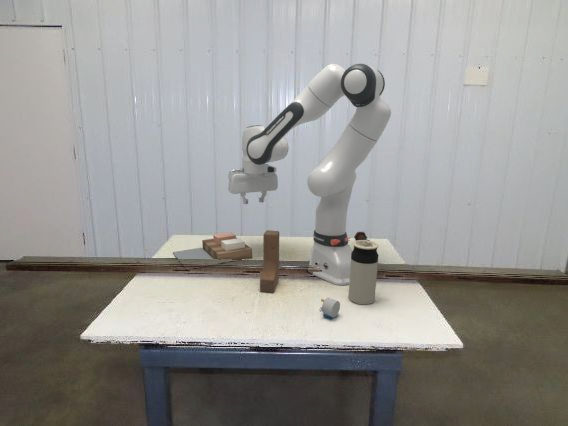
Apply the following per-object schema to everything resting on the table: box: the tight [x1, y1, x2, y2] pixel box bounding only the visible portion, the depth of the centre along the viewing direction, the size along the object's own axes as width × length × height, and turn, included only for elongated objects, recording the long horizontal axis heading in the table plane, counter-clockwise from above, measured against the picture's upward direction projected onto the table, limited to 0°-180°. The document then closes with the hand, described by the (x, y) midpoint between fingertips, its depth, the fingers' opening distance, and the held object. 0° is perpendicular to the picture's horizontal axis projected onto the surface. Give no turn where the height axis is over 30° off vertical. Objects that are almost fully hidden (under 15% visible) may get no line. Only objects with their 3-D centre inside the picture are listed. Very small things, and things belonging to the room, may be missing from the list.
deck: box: [201, 237, 253, 261], centre depth 150 cm, size 19×14×4 cm
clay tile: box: [212, 232, 237, 244], centre depth 153 cm, size 5×8×2 cm, turn 120°
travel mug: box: [348, 239, 379, 305], centre depth 112 cm, size 8×8×18 cm
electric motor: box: [319, 297, 341, 320], centre depth 103 cm, size 7×5×5 cm
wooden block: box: [259, 229, 280, 293], centre depth 119 cm, size 9×4×18 cm, turn 170°
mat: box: [172, 247, 213, 260], centre depth 144 cm, size 20×12×1 cm, turn 30°
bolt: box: [353, 231, 371, 241], centre depth 161 cm, size 6×5×15 cm
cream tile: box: [221, 237, 246, 251], centre depth 146 cm, size 5×8×2 cm, turn 120°
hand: (253, 203), depth 146 cm, fingers open, 5 cm apart
